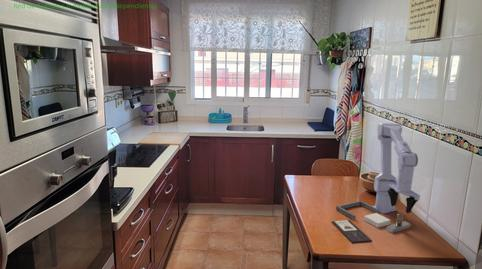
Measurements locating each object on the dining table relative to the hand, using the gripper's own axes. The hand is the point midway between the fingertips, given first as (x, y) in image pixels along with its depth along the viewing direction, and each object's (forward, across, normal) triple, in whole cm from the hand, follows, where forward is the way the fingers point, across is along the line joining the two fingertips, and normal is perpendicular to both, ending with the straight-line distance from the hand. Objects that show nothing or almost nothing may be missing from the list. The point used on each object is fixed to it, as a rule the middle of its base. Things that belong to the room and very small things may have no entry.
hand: (400, 209), depth 146 cm
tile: (+10, -8, -4) cm, 14 cm away
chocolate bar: (+10, -7, -22) cm, 25 cm away
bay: (+9, -20, -4) cm, 22 cm away
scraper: (+10, 0, 0) cm, 10 cm away
